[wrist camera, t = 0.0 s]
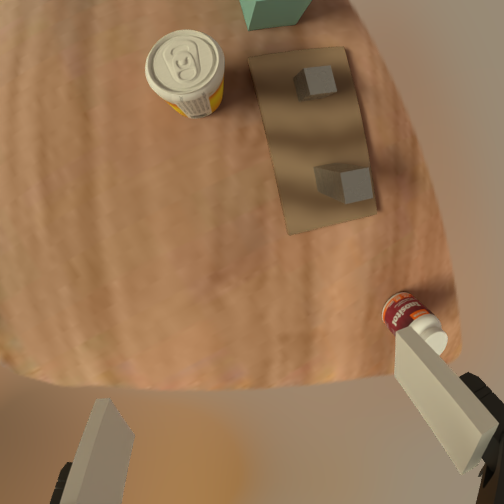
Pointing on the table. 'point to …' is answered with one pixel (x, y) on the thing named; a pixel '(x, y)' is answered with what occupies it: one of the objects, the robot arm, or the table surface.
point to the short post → (314, 83)
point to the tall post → (344, 182)
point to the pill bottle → (414, 320)
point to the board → (310, 135)
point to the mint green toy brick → (272, 12)
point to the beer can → (187, 72)
